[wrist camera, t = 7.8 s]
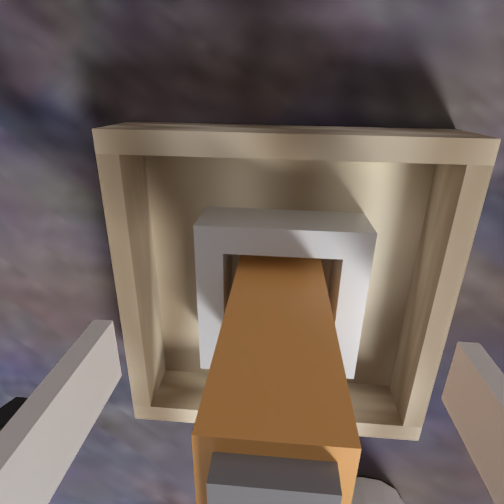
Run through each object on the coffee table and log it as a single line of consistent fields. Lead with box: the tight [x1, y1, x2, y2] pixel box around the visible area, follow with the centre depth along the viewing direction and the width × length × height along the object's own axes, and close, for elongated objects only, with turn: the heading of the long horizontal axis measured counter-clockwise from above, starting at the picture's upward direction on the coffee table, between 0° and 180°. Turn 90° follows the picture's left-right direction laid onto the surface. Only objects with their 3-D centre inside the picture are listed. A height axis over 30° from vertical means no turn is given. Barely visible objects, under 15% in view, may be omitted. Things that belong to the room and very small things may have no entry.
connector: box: [192, 255, 362, 504], centre depth 15 cm, size 4×4×13 cm
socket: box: [193, 206, 377, 379], centre depth 19 cm, size 8×8×3 cm
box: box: [92, 122, 501, 441], centre depth 20 cm, size 16×16×4 cm
